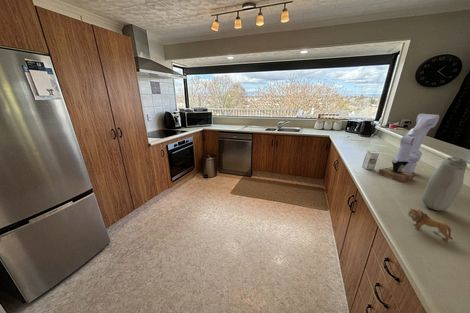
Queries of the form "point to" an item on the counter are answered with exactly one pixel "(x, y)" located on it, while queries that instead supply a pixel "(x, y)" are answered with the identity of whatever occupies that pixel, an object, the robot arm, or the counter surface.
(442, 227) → the lion figurine
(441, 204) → the white vase
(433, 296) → the counter surface
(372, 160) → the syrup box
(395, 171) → the grey cylinder
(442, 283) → the counter surface
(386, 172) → the bead block
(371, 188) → the counter surface
